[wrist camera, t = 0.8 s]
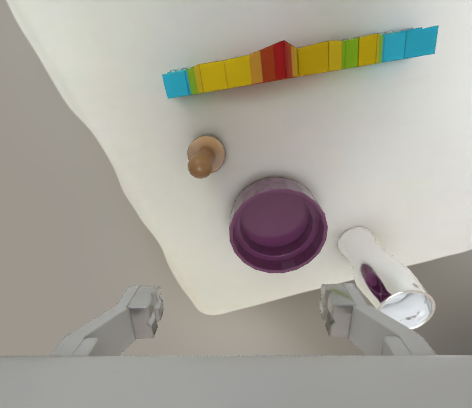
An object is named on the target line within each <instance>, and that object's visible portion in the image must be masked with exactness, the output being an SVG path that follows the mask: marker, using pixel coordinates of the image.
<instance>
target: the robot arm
mask: <svg viewBox="0 0 472 408" xmlns="http://www.w3.org/2000/svg"><path fill="white" fill-rule="evenodd" d="M321 293H322V297H321V298H320V312H321V315H322V318H323V319H324V320H325V321H326V329H327V331H328V334H329V336H330V337H337V338H339V337H340V338H348V339H349V340H350V341H352V342H353V343H354V344H355V345H356V346H357V347H358V348H359V349H360V350H361V351H362V352H363V353H364V354H366V355H362V356H361V355H355V356H354V355H351V356H350V355H349V356H348V355H347V356H119V355H120V354H121V353H122V352H123V351H124V350H125V349H126V348H127V347H128V346H129V345H130V344H132V343H133V342H134V341H135V340H136V339H139V338H153V337H154V335H155V332H156V330H157V328H158V327H157V322H158V321H160V320H161V317H162V314H163V300H162V299H161V298H160V295H161V288H160V287H159V286H130V287H129V288H128V289H127V290H126V292H125V293H124V295H123V296H122V298H121V300H120V301H119V302H118V304H117V306H116V307H115V308H111V309H110V310H108V311H106V312H105V313H103V314H101V315H100V316H98V317H96V318H95V319H94V320H92V321H90V322H88V323H87V324H85V325H84V326H82V327H80V328H78V329H77V330H75V331H74V332H72V333H70V334H69V335H67V336H65V337H64V339H63V340H62V341H61V342H60V344H59V345H58V346H57V347H56V349H55V350H54V351H53V353H52V354H51V355H50V356H0V408H472V355H436V353H435V352H434V351H433V350H432V348H431V347H430V346H429V345H428V343H427V342H426V341H425V340H424V338H423V337H422V336H421V335H420V334H418V333H416V332H414V331H413V330H411V329H409V328H408V327H406V326H404V325H403V324H401V323H399V322H398V321H396V320H394V319H393V318H391V317H389V316H388V315H386V314H384V313H383V312H381V311H379V310H378V309H376V308H374V307H373V306H368V305H367V303H366V302H365V300H364V299H363V297H362V295H361V294H360V292H359V291H358V289H357V288H356V286H355V285H354V284H353V283H351V284H322V286H321Z"/></svg>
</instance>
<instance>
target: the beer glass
mask: <svg viewBox="0 0 472 408" xmlns="http://www.w3.org/2000/svg"><path fill="white" fill-rule="evenodd" d="M338 249H339V251H340V253H341V254H342V255H343V256H344V257H345V258H346V259H347V260H348V262H349V263H350V266H351V269H352V272H353V276H354V279H355V282H356V284H357V287H358V290H359V292H360V294H361V295H362V297H363V299H364V300H365V302H366V303H367V305H368V306H373V307H374V308H376V309H378V310H379V311H381V312H383V313H384V314H386V315H388V316H389V317H391V318H393V319H394V320H396V321H398V322H399V323H401V324H403V325H404V326H406V327H408V328H409V329H411V330H413V329H416V328H418V327H420V326H422V325H423V324H425V323H426V322H427V321H428V320H429V319H430V318H431V317H432V315H433V313H434V311H435V302H434V300H433V298H432V297H431V296H430V295H429V294H428V292H427V291H426V289H425V288H424V287H423V286H422V284H421V283H420V281H419V280H418V279H417V278H416V277H415V275H414V274H413V273H412V272H411V271H410V270H409V269H408V268H407V267H406V266H405V265H404V264H403V263H402V262H400V261H399V260H398V259H397V258H395V257H394V256H393V255H391V254H390V253H389V252H387V251H386V250H385V249H383V248H382V247H381V246H380V245H379V244H378V243H377V241H376V239H375V236H374V234H373V233H372V232H371V231H370V230H368V229H367V228H363V227H355V228H351V229H349V230H347V231H345V232H344V233H343V234H342V235H341V236H340V238H339V240H338Z"/></svg>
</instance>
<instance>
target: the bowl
mask: <svg viewBox="0 0 472 408" xmlns="http://www.w3.org/2000/svg"><path fill="white" fill-rule="evenodd" d="M327 228H328V226H327V222H326V218H325V214H324V212H323V211H322V209H321V207H320V206H319V204H318V203H317V201H316V200H315V198H314V197H313V195H312V194H311V192H310V191H309V190H308V189H307V188H306V187H304V186H303V185H301V184H300V183H299V182H297V181H294V180H290V179H287V178H283V177H279V178H266V179H263V180H260V181H257V182H254V183H253V184H251V185H250V186H248V187H247V188H245V189H244V190H243V191H242V192H241V193H240V195H239V196H238V197H237V199H236V200H235V202H234V205H233V208H232V211H231V217H230V226H229V233H230V243H231V245H232V247H233V250H234V252H235V254H236V255H237V256H238V257H239V258H240V259H241V260H242V261H243V262H244V263H245V264H247V265H249V266H250V267H252V268H254V269H256V270H259V271H263V272H267V273H285V272H289V271H293V270H297V269H299V268H300V267H302V266H304V265H306V264H308V263H309V262H311V261H312V260H313V259H314V258H315V257H316V256H317V255H318V254H319V252H320V251H321V249H322V247H323V245H324V243H325V241H326V236H327Z"/></svg>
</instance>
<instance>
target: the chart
mask: <svg viewBox="0 0 472 408" xmlns="http://www.w3.org/2000/svg"><path fill="white" fill-rule="evenodd" d="M437 33H438V26H433V27H429V28H424V29H422V27H421V28H416V29H413V28H410V29H404V30H401V31H399V32H393V31H389V32H385V33H383V32H382V33H377V34H372V35H368V36H367V35H366V36H360V37H356V38H355V37H354V39H350V40H348V39H344V40H337V41H325V42H321V43H317V44H313V45H309V46H305V47H298V48H295V47H294V46H292V45H291V44H289V43H288V42H286V41H285V40H284V43H283V41H281V42H278V43H276V44H273V45H271V46H269V47H266V48H264V49H262V50H259V51H257V52H254V53H252V54H250V55H246V56H241V57H237V58H232V59H228V60H223V61H216V62H210V63H204V64H199V65H196V66H194V67H192V68H190V69H187V68H183V69H182V70H181V69H176V70H171V72H168V73H167V74H164V75H162V76H163V80H164V85H165V89H166V93H167V97H168V99H169V98H175V97H181V96H187V95H193V94H199V93H205V92H211V91H217V90H223V89H229V88H235V87H240V86H246V85H252V84H258V83H264V82H270V81H276V80H282V79H288V78H294V77H300V76H306V75H312V74H317V73H323V72H329V71H335V70H341V69H347V68H353V67H359V66H365V65H371V64H377V63H383V62H389V61H394V60H400V59H406V58H412V57H418V56H424V55H430V54H435V47H436V40H437Z"/></svg>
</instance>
